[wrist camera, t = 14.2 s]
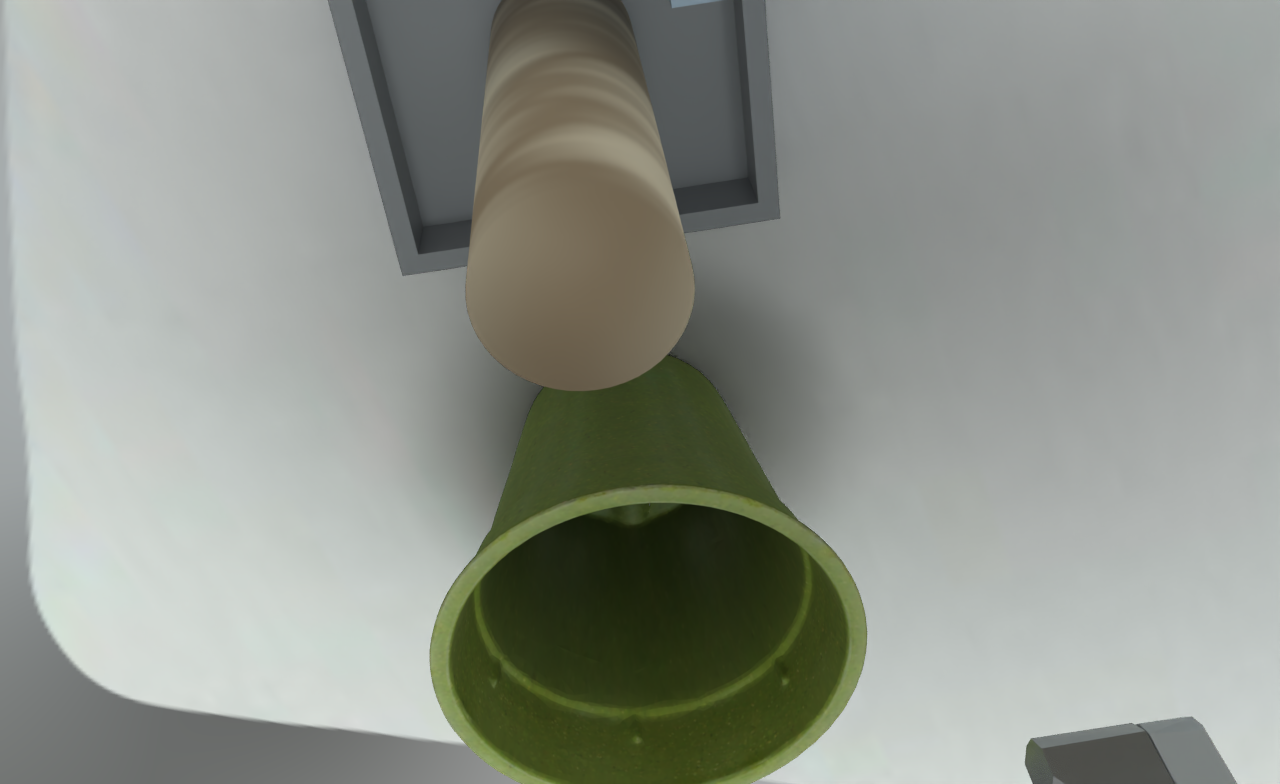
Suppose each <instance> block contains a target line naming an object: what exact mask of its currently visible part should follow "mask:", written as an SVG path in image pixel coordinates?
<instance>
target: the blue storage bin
mask: <svg viewBox="0 0 1280 784" xmlns="http://www.w3.org/2000/svg"><path fill="white" fill-rule="evenodd" d="M715 1H722V0H669V2H670V5H671V7H672V8H676V7H683V6H689V5H696V4H702V3H709V2H715Z"/></svg>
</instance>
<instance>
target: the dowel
mask: <svg viewBox="0 0 1280 784" xmlns="http://www.w3.org/2000/svg"><path fill="white" fill-rule="evenodd" d="M465 288H466V304H467V310H468V314H469V317H470V321H471V324H472V326H473V328H474V330H475V332H476V334H477V336H478V338H479V340H480V341H481V342H482V344H483V345H484V347H485V348H486V349H487V351H488V352H489V353H490V354H491V355H492V356H493V357H494V358H495V359H496V360H497V361H498V362H499V363H500V364H502V365H503V366H504V367H505V368H507V369H508V370H510V371H511V372H513V373H514V374H516V375H518V376H520V377H522V378H523V379H525V380H527V381H530V382H533V383H535V384H538V385H541V386H544V387H549V388H553V389H558V390H566V391H591V390H599V389H604V388H609V387H613V386H616V385H619V384H622V383H625V382H627V381H630V380H632V379H634V378H636V377H638V376H640V375H642V374H643V373H645V372H647V371H648V370H650V369H651V368H652V367H654V366H655V365H656V364H658V363H659V362H660V361H661V360H662V359H663V358H664V357H665V356H666V355H667V354H668V353H669V352H670V351H671V350H672V349H673V347H674V346H675V345H676V343H677V342H678V341H679V339H680V337H681V336H682V334H683V332H684V331H685V329H686V326H687V324H688V321H689V319H690V316H691V312H692V308H693V304H694V295H695V281H694V273H693V268H692V263H691V259H690V255H689V251H688V247H687V243H686V240H685V236H684V232H683V228H682V224H681V220H680V216H679V212H678V208H677V204H676V200H675V196H674V192H673V188H672V184H671V180H670V176H669V172H668V168H667V164H666V160H665V156H664V152H663V148H662V144H661V140H660V136H659V132H658V128H657V124H656V120H655V116H654V112H653V108H652V104H651V100H650V96H649V92H648V88H647V84H646V80H645V76H644V72H643V68H642V64H641V61H640V57H639V53H638V49H637V45H636V41H635V37H634V33H633V29H632V25H631V21H630V18H629V15H628V12H627V10H626V8H625V6H624V4H623V3H622V1H621V0H501V2H500V4H499V6H498V8H497V10H496V12H495V15H494V18H493V22H492V27H491V35H490V45H489V55H488V65H487V75H486V85H485V95H484V105H483V115H482V125H481V135H480V145H479V155H478V165H477V175H476V185H475V195H474V205H473V215H472V225H471V235H470V245H469V255H468V265H467V275H466V285H465Z"/></svg>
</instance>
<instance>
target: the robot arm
mask: <svg viewBox="0 0 1280 784" xmlns="http://www.w3.org/2000/svg"><path fill="white" fill-rule="evenodd" d="M1025 765H1026V768H1027V770H1028V773H1029V775H1030V778H1031V780H1032V783H1033V784H1237V782H1236V781H1235V779H1234V777H1233V775H1232V774H1231V772H1230V770H1229V769H1228V767H1227V765H1226V764H1225V762H1224V760H1223V759H1222V757H1221V755H1220V754H1219V752H1218V750H1217V749H1216V747H1215V745H1214V743H1213V742H1212V740H1211V738H1210V737H1209V735H1208V733H1207V732H1206V730H1205V728H1204V727H1203V725H1202V724H1200V723H1199V722H1198V721H1197V720H1196V719H1194V718H1193V717H1180V718H1173V719H1167V720H1160V721H1154V722H1147V723H1141V724H1136V725H1135V724H1133V723H1129V724H1122V725H1116V726H1109V727H1103V728H1096V729H1090V730H1083V731H1077V732H1070V733H1063V734H1057V735H1050V736H1044V737H1037V738H1031V740H1030V741H1029V743H1028V745H1027V747H1026V757H1025Z"/></svg>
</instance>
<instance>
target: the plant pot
mask: <svg viewBox="0 0 1280 784" xmlns="http://www.w3.org/2000/svg"><path fill="white" fill-rule="evenodd" d="M649 503H650V504H651V505H650V506H649ZM866 646H867V626H866V617H865V611H864V607H863V604H862V600H861V597H860V594H859V591H858V589H857V586H856V584H855V582H854V580H853V578H852V576H851V574H850V573H849V571H848V570H847V568H846V566H845V565H844V563H843V562H842V560H841V559H840V558H839V557H838V556H837V554H836V553H835V552H834V551H833V550H832V548H831V547H830V546H829V545H828V544H827V543H826V542H825V541H824V540H822V539H821V538H820V537H819V536H818V535H817V534H816V533H815V532H813V531H812V530H811V529H809V528H808V527H807V526H806V525H804V524H803V523H801V522H800V521H798V519H797V518H796V517H795V516H794V514H793V513H792V512H791V511H790V510H789V509H788V508H787V507H786V506H785V505H784V504H783V503H782V502H781V501H780V500H779V498H778V496H777V495H776V493H775V491H774V489H773V488H772V486H771V484H770V482H769V481H768V479H767V477H766V475H765V474H764V472H763V470H762V468H761V467H760V465H759V463H758V461H757V460H756V458H755V456H754V454H753V453H752V451H751V449H750V447H749V445H748V443H747V442H746V440H745V438H744V436H743V434H742V433H741V431H740V429H739V427H738V425H737V424H736V422H735V420H734V418H733V417H732V415H731V413H730V411H729V410H728V408H727V406H726V404H725V403H724V401H723V399H722V398H721V396H720V395H719V393H718V392H717V390H716V389H715V387H714V386H713V385H712V384H711V382H710V381H709V380H708V379H707V378H706V377H705V376H704V375H703V374H702V373H700V372H699V371H698V370H696V369H695V368H693V367H692V366H691V365H689V364H687V363H685V362H683V361H681V360H679V359H677V358H674V357H672V356H669V355H666V356H665V357H664V358H663V359H662V360H661V361H660V362H659V363H658V364H656V365H655V366H654V367H652V368H651V369H650V370H648V371H647V372H645V373H643V374H642V375H640V376H638V377H636V378H634V379H632V380H630V381H627V382H625V383H622V384H619V385H616V386H613V387H609V388H604V389H599V390H591V391H566V390H558V389H553V388H549V387H544V388H543V389H542V390H541V392H540V393H539V394H538V396H537V397H536V399H535V401H534V402H533V405H532V407H531V409H530V411H529V414H528V416H527V419H526V422H525V425H524V428H523V431H522V434H521V437H520V440H519V443H518V447H517V450H516V453H515V456H514V460H513V463H512V466H511V470H510V473H509V476H508V479H507V482H506V485H505V488H504V491H503V494H502V496H501V499H500V502H499V506H498V509H497V512H496V515H495V518H494V522H493V525H492V528H491V530H490V532H489V533H488V534H487V536H486V537H485V539H484V541H483V543H482V544H481V546H480V548H479V550H478V552H477V554H476V556H475V557H474V558H473V559H472V560H471V561H470V562H469V563H468V565H467V566H466V567H465V568H464V570H463V571H462V572H461V574H460V575H459V576H458V578H457V579H456V580H455V582H454V583H453V585H452V586H451V588H450V590H449V591H448V593H447V595H446V597H445V599H444V601H443V603H442V605H441V608H440V610H439V613H438V615H437V619H436V622H435V625H434V629H433V633H432V638H431V645H430V670H431V677H432V682H433V687H434V690H435V694H436V697H437V699H438V702H439V704H440V707H441V709H442V711H443V713H444V715H445V717H446V719H447V721H448V722H449V724H450V725H451V727H452V728H453V730H454V731H455V732H456V733H457V734H458V736H459V737H460V738H461V739H462V740H463V741H464V742H465V743H466V745H467V746H468V747H469V748H470V749H471V750H472V751H473V752H474V753H476V755H478V756H479V757H480V758H481V759H482V760H484V761H485V762H486V763H487V764H488V765H490V766H491V767H493V768H494V769H496V770H497V771H499V772H501V773H502V774H504V775H506V776H508V777H509V778H511V779H513V780H515V781H516V782H519V783H521V784H750V783H753V782H755V781H757V780H759V779H761V778H763V777H765V776H767V775H769V774H771V773H772V772H774V771H776V770H778V769H779V768H781V767H783V766H784V765H786V764H787V763H789V762H790V761H792V760H793V759H795V758H796V757H798V756H799V755H800V754H801V753H802V752H804V751H805V750H806V749H807V748H808V747H810V746H811V745H812V744H814V743H815V742H816V741H817V740H818V739H819V738H820V737H821V736H822V735H823V734H824V733H825V732H826V731H827V730H828V729H829V728H830V727H831V725H832V724H833V723H834V721H835V720H836V719H837V718H838V716H839V715H840V714H841V712H842V711H843V710H844V708H845V706H846V705H847V703H848V701H849V699H850V697H851V695H852V694H853V692H854V690H855V688H856V685H857V683H858V680H859V678H860V675H861V672H862V668H863V664H864V660H865V654H866Z"/></svg>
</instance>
